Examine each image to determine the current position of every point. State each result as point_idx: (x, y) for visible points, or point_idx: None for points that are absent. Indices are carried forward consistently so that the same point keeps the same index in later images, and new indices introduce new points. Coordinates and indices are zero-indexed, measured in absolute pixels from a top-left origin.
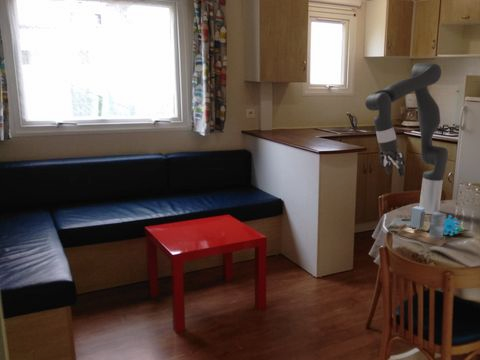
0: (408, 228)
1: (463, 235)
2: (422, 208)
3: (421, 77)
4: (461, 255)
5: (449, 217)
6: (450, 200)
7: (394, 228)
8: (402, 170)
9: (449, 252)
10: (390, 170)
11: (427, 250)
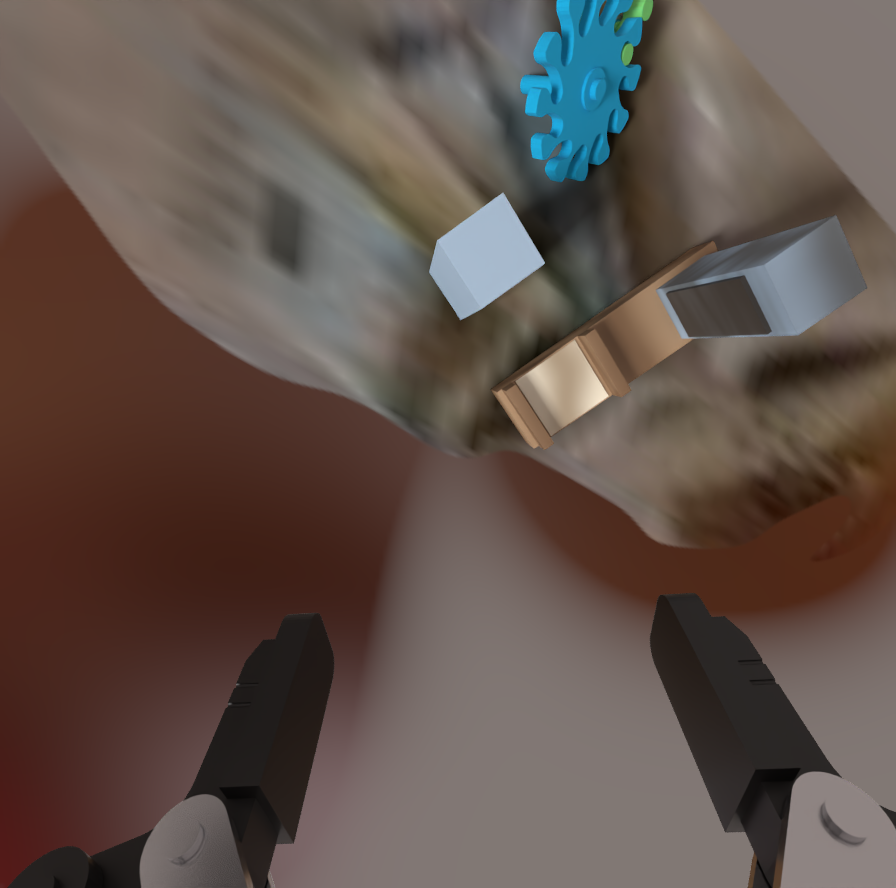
0: (541, 382)
1: None
2: (511, 226)
3: None
4: None
5: (577, 22)
6: None
7: (432, 404)
8: (781, 720)
9: None
10: (306, 674)
11: (743, 407)
